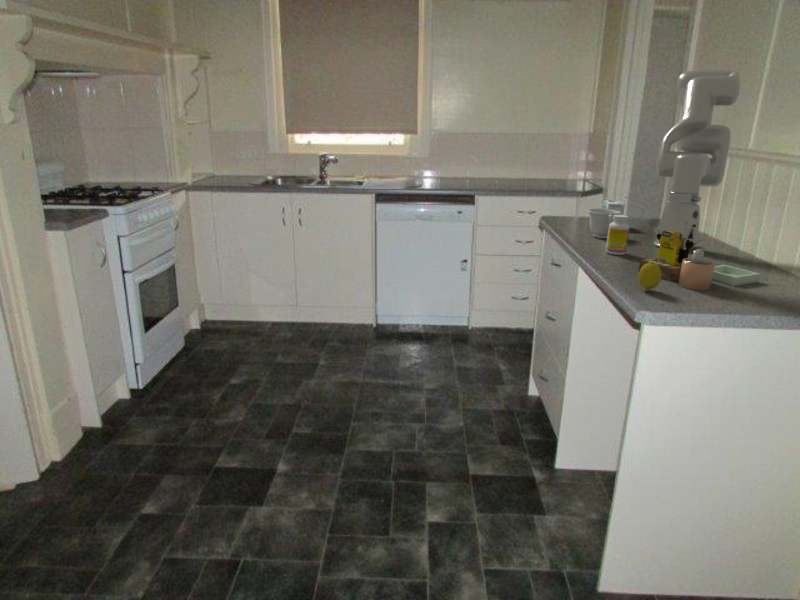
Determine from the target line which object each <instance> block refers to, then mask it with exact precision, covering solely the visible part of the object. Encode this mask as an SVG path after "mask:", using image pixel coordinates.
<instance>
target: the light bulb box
mask: <svg viewBox="0 0 800 600" xmlns="http://www.w3.org/2000/svg"><path fill="white" fill-rule="evenodd" d="M602 205H603V206H602V209H610V210H616V211H620V212H621V214H619V215H624V213H625V206H626V204H625V203H624V202H622V201H621V200H610V199H609V200H608V199H607V200H604V199H603V204H602Z"/></svg>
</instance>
